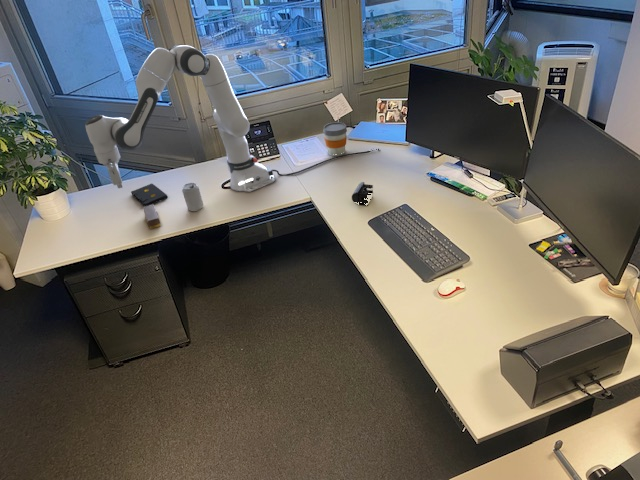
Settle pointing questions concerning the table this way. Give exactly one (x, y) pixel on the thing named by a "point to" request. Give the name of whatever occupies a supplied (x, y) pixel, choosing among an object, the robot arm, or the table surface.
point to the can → (192, 196)
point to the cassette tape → (149, 195)
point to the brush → (151, 216)
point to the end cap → (362, 193)
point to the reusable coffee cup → (335, 138)
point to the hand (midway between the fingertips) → (119, 185)
